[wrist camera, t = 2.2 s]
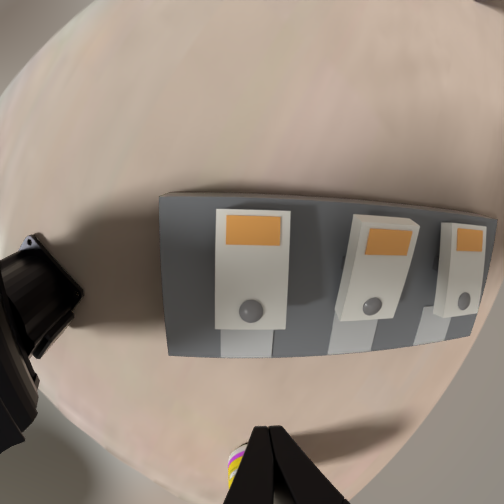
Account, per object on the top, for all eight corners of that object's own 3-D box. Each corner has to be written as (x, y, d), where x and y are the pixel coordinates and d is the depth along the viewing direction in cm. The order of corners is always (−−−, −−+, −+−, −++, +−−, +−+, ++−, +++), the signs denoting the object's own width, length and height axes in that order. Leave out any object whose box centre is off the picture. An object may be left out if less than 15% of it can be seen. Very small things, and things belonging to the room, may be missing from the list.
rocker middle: (385, 307, 18) (393, 319, 17) (334, 309, 18) (340, 322, 16) (409, 218, 15) (421, 226, 14) (353, 214, 15) (363, 222, 14)
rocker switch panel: (175, 332, 21) (167, 359, 18) (169, 192, 19) (156, 197, 15) (451, 320, 23) (473, 338, 20) (474, 212, 20) (501, 220, 17)
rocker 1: (281, 322, 16) (285, 330, 15) (216, 321, 16) (215, 329, 15) (286, 211, 16) (291, 211, 15) (217, 209, 16) (216, 208, 14)
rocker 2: (467, 309, 17) (478, 313, 16) (432, 313, 17) (443, 318, 16) (475, 226, 17) (487, 226, 16) (441, 222, 17) (453, 222, 15)
